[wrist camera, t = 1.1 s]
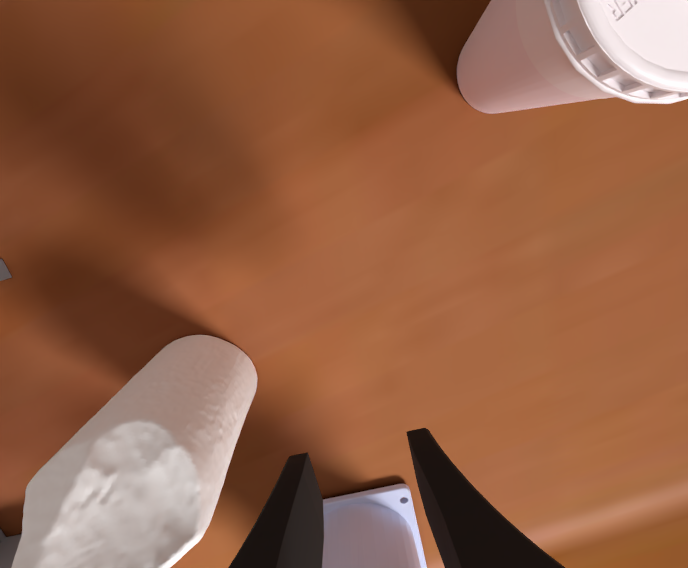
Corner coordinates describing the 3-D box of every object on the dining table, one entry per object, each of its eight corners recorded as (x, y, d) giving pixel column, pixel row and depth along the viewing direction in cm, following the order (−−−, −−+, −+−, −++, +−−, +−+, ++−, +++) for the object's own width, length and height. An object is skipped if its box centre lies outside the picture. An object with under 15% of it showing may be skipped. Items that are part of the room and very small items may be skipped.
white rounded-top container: (164, 594, 8) (146, 740, 9) (265, 345, 19) (250, 428, 21) (-137, 559, 7) (-103, 720, 8) (155, 324, 18) (147, 410, 20)
